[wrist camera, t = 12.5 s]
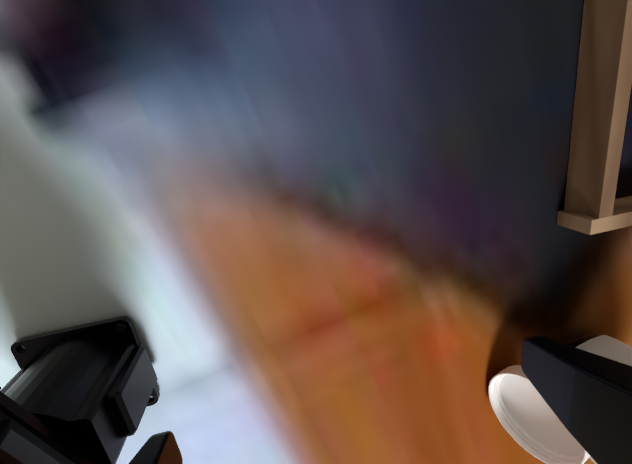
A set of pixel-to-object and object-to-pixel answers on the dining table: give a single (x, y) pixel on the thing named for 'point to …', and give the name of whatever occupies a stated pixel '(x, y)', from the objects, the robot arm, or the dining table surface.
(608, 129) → the frame
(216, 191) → the dining table surface
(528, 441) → the spread jar
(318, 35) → the dining table surface
